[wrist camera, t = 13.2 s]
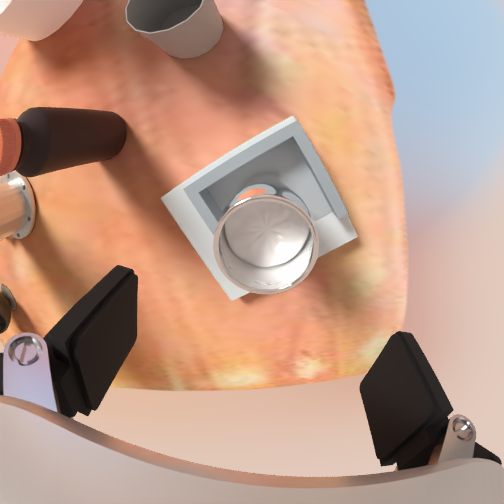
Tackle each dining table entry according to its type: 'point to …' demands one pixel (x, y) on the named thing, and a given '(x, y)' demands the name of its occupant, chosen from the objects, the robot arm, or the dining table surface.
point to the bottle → (58, 139)
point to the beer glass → (266, 237)
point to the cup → (177, 25)
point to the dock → (245, 168)
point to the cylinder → (34, 17)
